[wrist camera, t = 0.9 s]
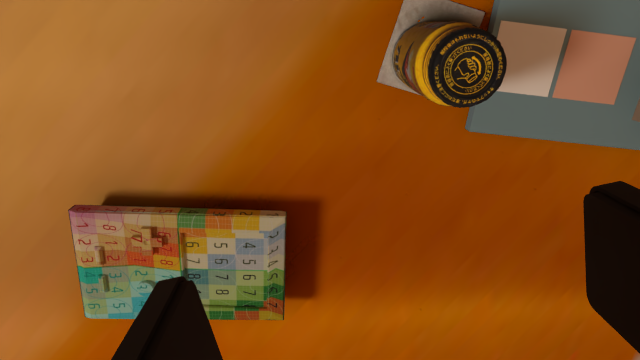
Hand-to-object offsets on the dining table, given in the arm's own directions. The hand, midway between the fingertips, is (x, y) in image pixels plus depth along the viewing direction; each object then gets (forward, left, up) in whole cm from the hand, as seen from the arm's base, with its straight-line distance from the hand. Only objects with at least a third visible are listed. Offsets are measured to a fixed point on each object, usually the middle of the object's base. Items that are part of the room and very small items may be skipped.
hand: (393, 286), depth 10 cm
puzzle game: (+18, -12, -33) cm, 40 cm away
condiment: (-5, +9, -33) cm, 34 cm away
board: (-5, +26, -33) cm, 42 cm away
